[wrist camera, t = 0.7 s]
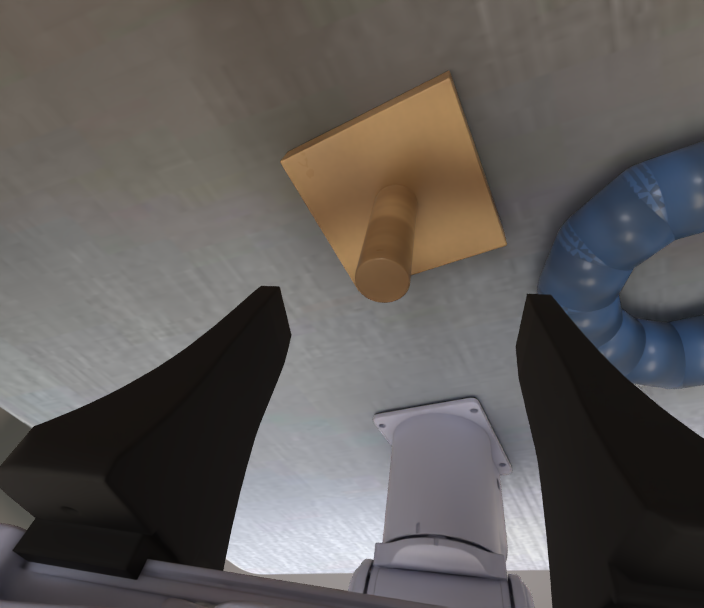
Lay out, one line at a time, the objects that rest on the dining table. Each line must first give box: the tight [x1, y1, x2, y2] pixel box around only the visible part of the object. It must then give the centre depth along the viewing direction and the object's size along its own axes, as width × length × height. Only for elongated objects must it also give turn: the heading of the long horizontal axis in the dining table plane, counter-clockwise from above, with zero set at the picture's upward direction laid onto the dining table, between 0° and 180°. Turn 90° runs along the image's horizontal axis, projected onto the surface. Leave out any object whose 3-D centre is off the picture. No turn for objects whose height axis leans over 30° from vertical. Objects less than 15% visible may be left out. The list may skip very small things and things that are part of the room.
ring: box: [537, 141, 704, 389], centre depth 19 cm, size 13×13×3 cm
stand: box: [280, 71, 507, 303], centre depth 18 cm, size 8×8×7 cm
